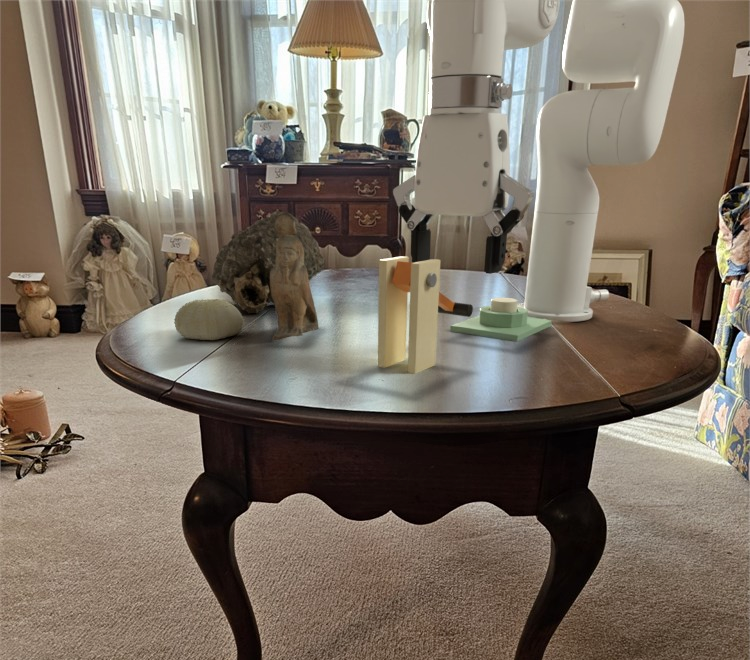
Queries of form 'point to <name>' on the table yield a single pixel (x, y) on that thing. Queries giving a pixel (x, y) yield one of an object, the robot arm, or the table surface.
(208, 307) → the sea urchin shell
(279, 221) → the brown carved statuette
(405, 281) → the lever
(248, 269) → the rock
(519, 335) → the button block
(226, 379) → the table surface
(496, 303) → the button
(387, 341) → the bracket
